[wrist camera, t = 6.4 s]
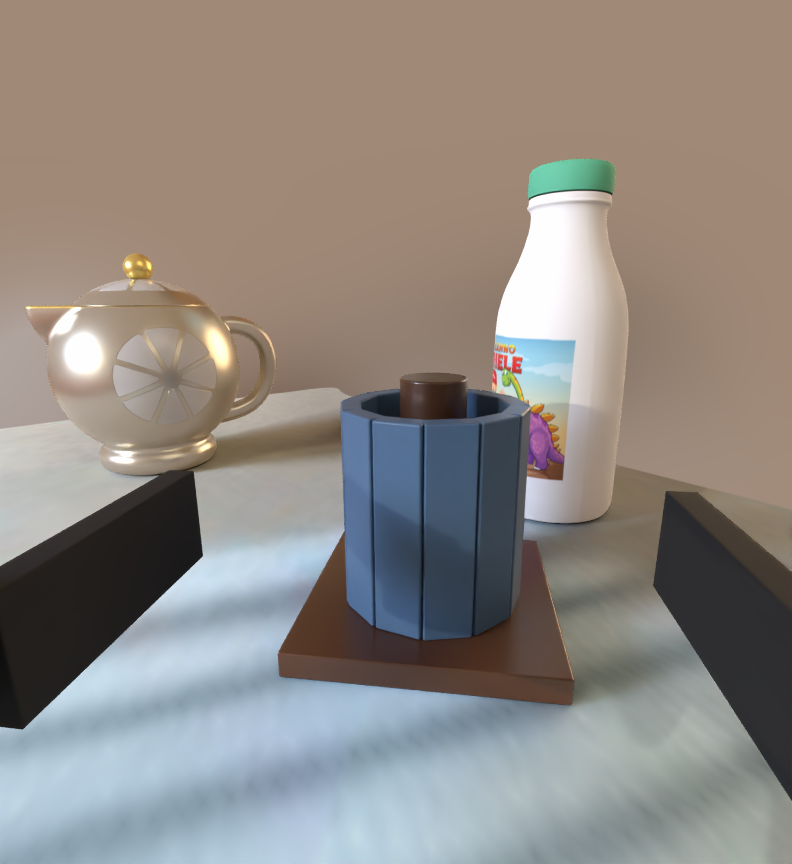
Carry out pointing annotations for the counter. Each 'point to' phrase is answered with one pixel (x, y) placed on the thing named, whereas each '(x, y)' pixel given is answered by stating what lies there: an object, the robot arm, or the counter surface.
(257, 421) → the counter surface
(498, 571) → the ring sleeve
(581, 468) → the milk bottle
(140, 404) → the teapot
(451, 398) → the post stand
